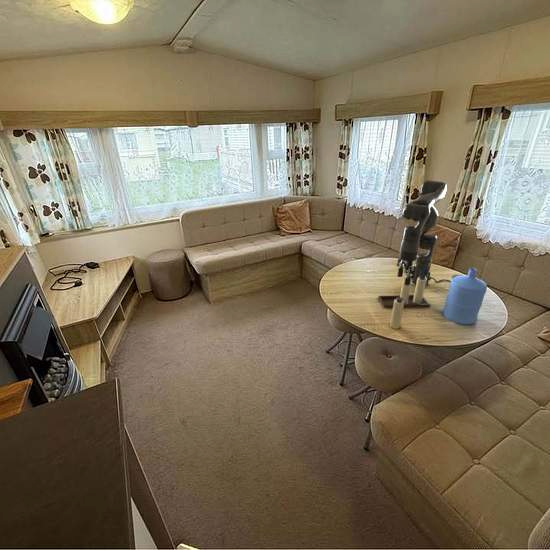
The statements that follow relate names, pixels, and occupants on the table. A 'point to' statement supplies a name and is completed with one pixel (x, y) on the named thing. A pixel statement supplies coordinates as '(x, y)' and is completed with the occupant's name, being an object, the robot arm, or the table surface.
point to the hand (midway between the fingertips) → (403, 280)
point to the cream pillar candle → (397, 313)
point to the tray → (389, 302)
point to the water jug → (465, 298)
